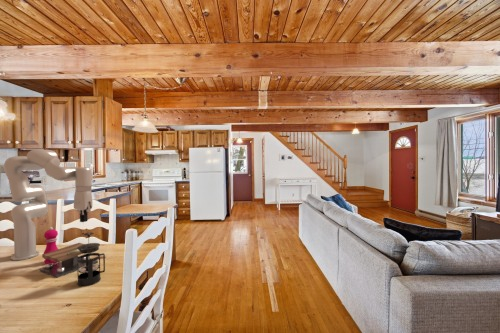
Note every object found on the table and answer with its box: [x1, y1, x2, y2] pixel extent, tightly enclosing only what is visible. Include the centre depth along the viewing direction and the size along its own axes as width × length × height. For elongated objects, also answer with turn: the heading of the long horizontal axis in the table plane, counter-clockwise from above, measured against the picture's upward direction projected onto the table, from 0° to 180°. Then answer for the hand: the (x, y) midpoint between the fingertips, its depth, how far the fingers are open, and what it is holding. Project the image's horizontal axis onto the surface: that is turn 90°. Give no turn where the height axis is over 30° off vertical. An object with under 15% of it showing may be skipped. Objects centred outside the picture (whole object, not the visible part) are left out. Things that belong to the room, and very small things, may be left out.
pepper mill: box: [43, 226, 59, 265], centre depth 137 cm, size 7×7×20 cm
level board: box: [41, 242, 85, 263], centre depth 131 cm, size 15×18×2 cm
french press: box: [76, 231, 106, 287], centre depth 115 cm, size 12×9×23 cm
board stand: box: [39, 255, 99, 279], centre depth 131 cm, size 16×20×6 cm
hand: (83, 221), depth 137 cm, fingers closed
